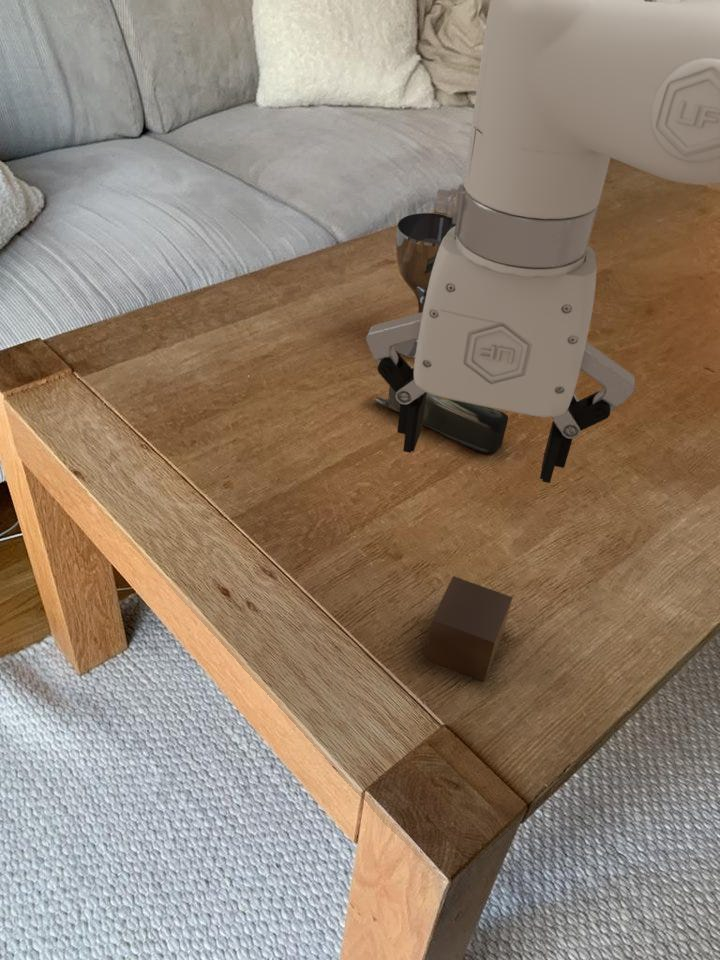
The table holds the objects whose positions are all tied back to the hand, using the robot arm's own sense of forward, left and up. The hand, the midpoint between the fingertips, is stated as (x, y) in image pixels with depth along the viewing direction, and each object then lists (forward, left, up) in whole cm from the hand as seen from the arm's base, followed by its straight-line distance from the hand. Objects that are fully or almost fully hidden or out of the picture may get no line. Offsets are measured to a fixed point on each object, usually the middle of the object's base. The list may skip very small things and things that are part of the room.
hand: (478, 455), depth 58 cm
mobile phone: (+10, -24, -18) cm, 31 cm away
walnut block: (-2, +3, -17) cm, 18 cm away
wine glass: (+17, -39, -18) cm, 46 cm away
